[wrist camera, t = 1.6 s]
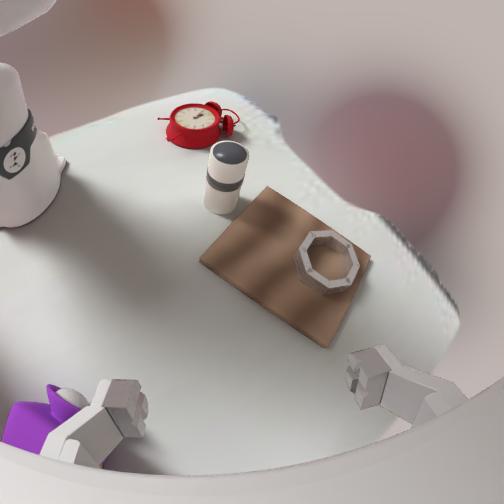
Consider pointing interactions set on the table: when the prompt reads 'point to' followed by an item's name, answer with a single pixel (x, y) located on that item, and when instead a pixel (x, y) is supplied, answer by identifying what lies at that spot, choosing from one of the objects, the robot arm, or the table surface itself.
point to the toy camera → (41, 418)
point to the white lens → (225, 176)
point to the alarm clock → (197, 125)
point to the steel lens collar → (313, 277)
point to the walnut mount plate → (283, 265)
